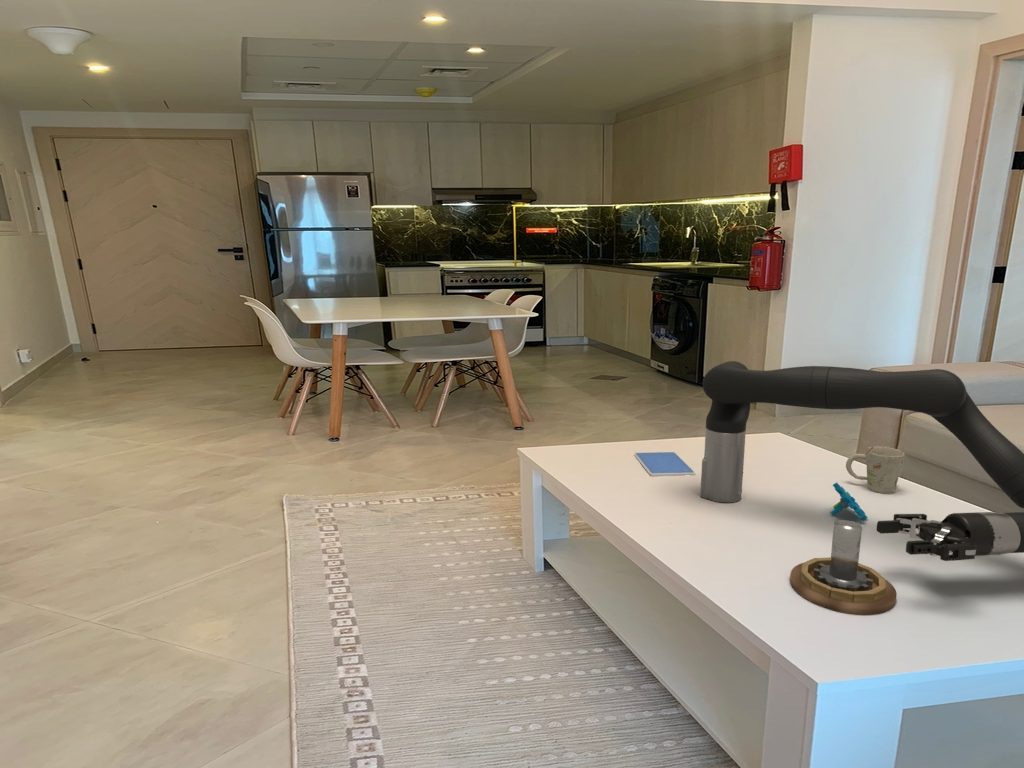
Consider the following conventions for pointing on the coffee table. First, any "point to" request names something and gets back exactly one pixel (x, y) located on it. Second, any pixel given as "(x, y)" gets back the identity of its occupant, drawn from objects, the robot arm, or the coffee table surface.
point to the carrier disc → (843, 600)
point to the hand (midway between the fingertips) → (892, 537)
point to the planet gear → (844, 560)
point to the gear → (847, 503)
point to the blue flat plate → (664, 464)
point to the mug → (879, 468)
